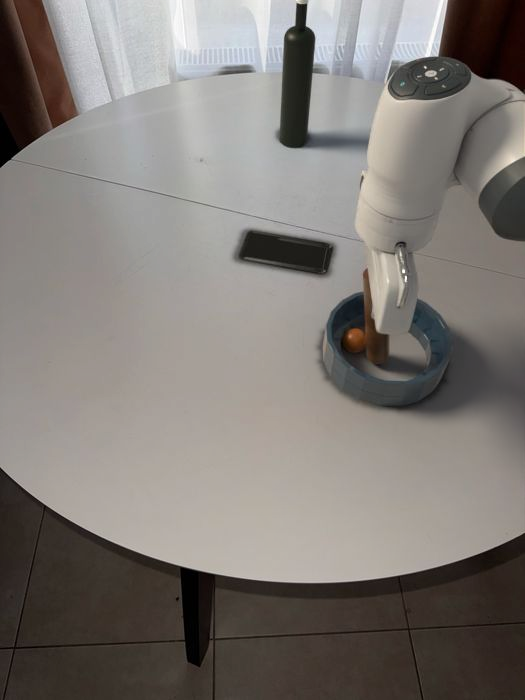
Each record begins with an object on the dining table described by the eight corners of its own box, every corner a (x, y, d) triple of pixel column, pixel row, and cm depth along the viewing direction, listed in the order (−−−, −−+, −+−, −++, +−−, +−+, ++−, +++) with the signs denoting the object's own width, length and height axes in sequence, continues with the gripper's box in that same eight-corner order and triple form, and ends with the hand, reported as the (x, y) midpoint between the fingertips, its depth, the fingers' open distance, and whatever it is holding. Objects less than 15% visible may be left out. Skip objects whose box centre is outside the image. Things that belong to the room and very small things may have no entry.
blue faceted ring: (430, 317, 91) (440, 290, 86) (451, 411, 80) (463, 386, 75) (319, 314, 91) (323, 287, 86) (325, 408, 80) (330, 383, 75)
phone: (325, 274, 95) (236, 258, 97) (324, 279, 96) (236, 263, 98) (332, 243, 100) (248, 228, 102) (332, 248, 100) (248, 233, 102)
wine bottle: (286, 130, 124) (295, -29, 101) (311, 137, 123) (325, -23, 99) (274, 143, 121) (280, -18, 97) (299, 150, 119) (312, -12, 96)
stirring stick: (389, 346, 84) (389, 264, 72) (389, 364, 82) (389, 283, 70) (366, 346, 85) (363, 265, 72) (366, 364, 83) (362, 283, 70)
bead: (368, 337, 87) (363, 320, 84) (370, 355, 84) (365, 338, 82) (344, 342, 88) (339, 325, 85) (345, 359, 85) (340, 343, 83)
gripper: (441, 283, 58) (411, 366, 68) (412, 163, 70) (390, 250, 81) (377, 281, 58) (358, 365, 68) (360, 162, 70) (345, 249, 81)
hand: (375, 302), depth 75 cm, fingers closed on stirring stick, 3 cm apart
